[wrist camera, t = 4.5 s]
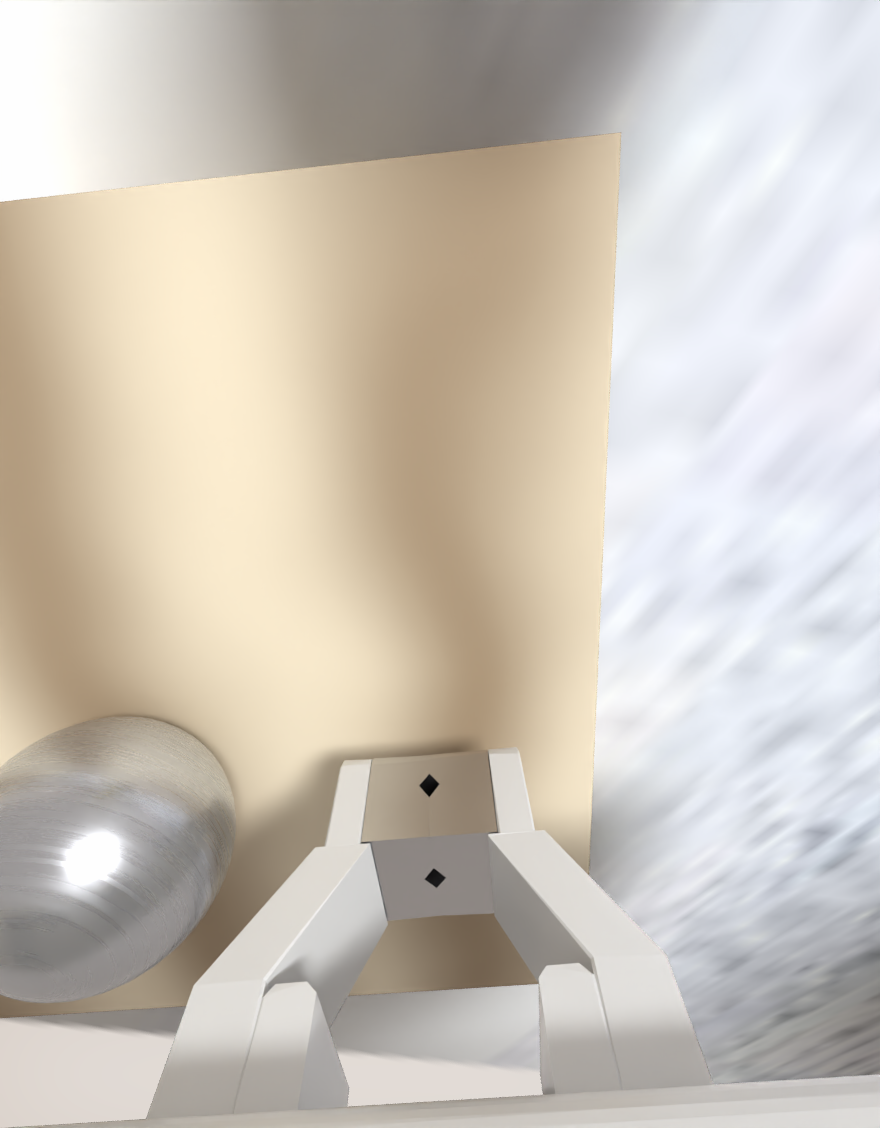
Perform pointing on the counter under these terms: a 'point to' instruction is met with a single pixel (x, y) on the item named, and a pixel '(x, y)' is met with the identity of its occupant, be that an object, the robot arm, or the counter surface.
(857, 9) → the counter surface
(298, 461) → the beige flat wooden board
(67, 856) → the ball
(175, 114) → the counter surface
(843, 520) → the counter surface
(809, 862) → the counter surface
